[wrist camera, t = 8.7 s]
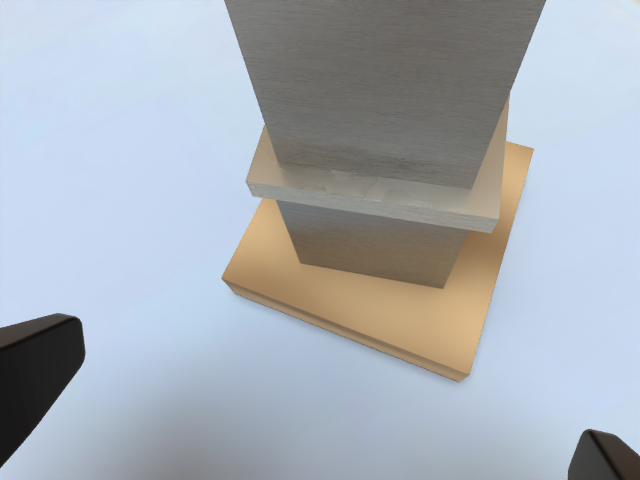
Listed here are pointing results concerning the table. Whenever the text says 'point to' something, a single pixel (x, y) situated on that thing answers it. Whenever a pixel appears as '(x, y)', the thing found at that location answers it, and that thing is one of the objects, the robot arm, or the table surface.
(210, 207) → the table surface
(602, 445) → the robot arm
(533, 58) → the table surface
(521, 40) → the block
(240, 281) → the stand
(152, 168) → the table surface
